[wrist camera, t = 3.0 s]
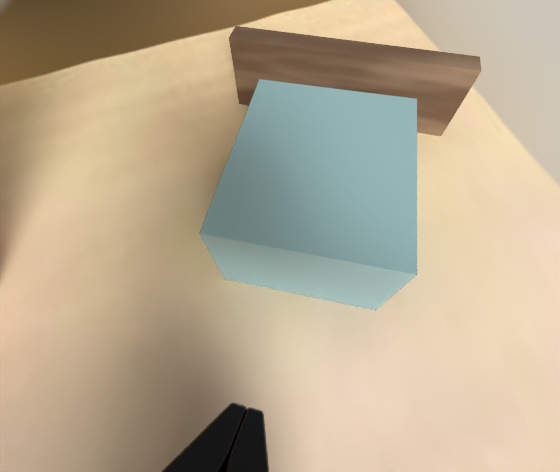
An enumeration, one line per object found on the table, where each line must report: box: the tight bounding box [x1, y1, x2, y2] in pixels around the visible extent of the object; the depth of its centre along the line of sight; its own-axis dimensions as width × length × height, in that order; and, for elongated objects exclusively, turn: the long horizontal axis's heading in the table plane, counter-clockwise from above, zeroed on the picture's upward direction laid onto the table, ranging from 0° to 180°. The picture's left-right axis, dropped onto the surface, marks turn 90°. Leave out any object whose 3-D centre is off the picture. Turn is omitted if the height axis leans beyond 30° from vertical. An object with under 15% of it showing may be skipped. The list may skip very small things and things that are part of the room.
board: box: [229, 26, 481, 136], centre depth 29 cm, size 2×22×7 cm, turn 76°
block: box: [199, 79, 417, 310], centre depth 23 cm, size 14×12×8 cm
